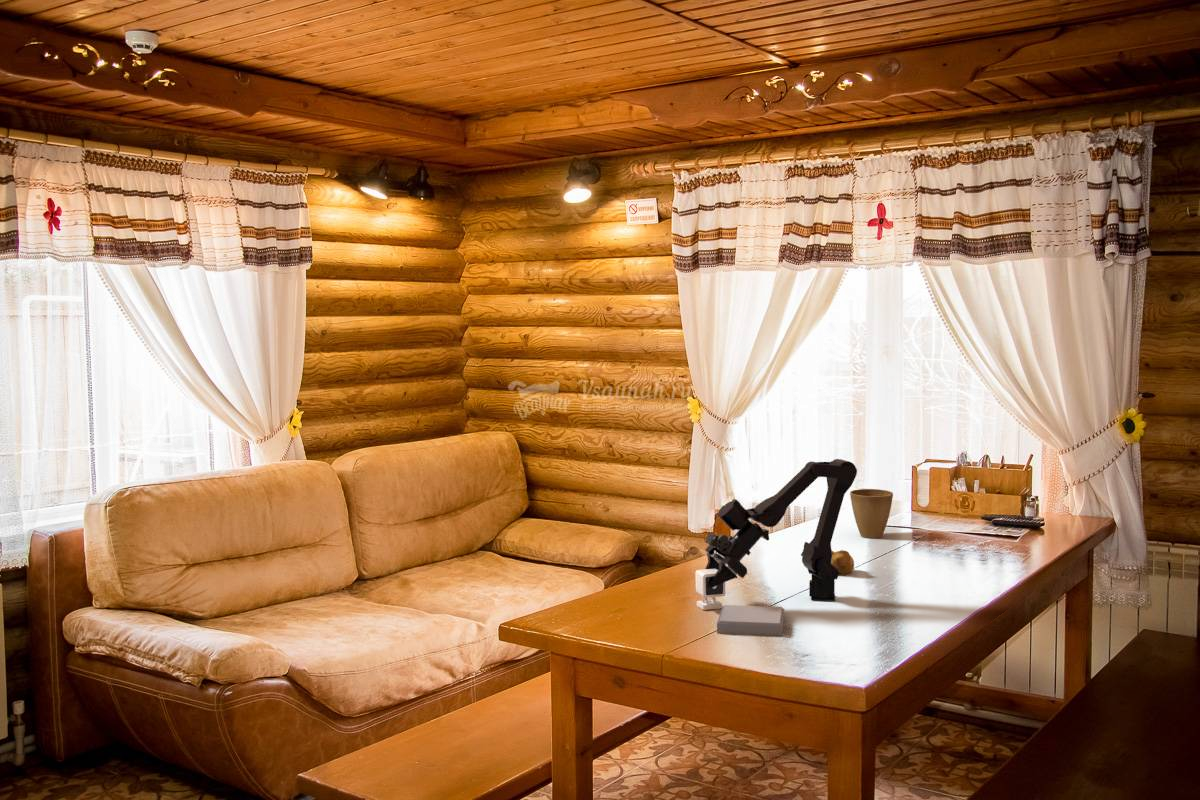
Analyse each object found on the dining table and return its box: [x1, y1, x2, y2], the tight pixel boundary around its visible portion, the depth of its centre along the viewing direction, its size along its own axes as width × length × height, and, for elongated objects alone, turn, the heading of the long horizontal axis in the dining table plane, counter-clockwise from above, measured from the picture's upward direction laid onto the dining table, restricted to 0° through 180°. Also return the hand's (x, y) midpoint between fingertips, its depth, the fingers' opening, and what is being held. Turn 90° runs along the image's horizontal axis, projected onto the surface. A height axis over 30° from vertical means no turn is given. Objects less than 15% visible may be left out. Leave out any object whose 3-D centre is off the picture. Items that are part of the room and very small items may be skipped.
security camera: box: [694, 568, 726, 611], centre depth 286 cm, size 6×7×10 cm
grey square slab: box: [716, 604, 785, 637], centre depth 269 cm, size 16×16×3 cm
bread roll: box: [831, 549, 855, 576], centre depth 323 cm, size 13×10×8 cm
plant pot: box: [849, 488, 894, 539], centre depth 374 cm, size 15×15×16 cm
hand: (705, 584), depth 285 cm, fingers closed on security camera, 6 cm apart
